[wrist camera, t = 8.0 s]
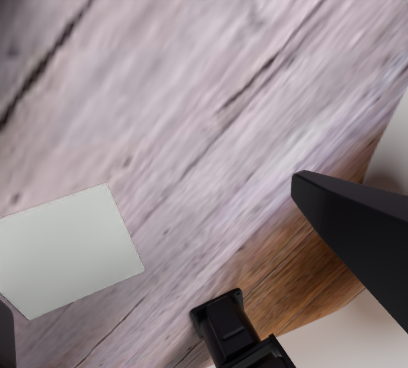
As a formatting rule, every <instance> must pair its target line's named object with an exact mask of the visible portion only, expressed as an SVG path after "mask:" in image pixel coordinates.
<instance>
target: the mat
mask: <svg viewBox="0 0 408 368" xmlns="http://www.w3.org/2000/svg"><path fill="white" fill-rule="evenodd" d="M144 271H145V269H144V267H143V264H142V262H141V260H140V257H139V255H138V253H137V251H136V248H135V246H134V244H133V242H132V239H131V237H130V235H129V232H128V230H127V228H126V226H125V223H124V221H123V219H122V217H121V214H120V212H119V210H118V207H117V205H116V203H115V201H114V198H113V196H112V194H111V192H110V189H109V187H108V185H107V182H106V183H103V184H100V185H97V186H94V187H91V188H88V189H85V190H82V191H79V192H76V193H74V194H71V195H68V196H65V197H62V198H59V199H56V200H53V201H50V202H47V203H44V204H41V205H38V206H35V207H32V208H29V209H26V210H23V211H21V212H18V213H15V214H12V215H9V216H6V217H3V218H0V293H1V294H2V295H3V296H5V297H6V298H7V299H8V300H9V301H10V302H11V303H12V304H13V305H14V306H15V307H16V308H17V309H18V310H19V311H20V312H21V313H22V314H23V315H24V316H25V317H26V318H27V319H28V320H32V319H34V318H36V317H39V316H41V315H43V314H46V313H48V312H50V311H53V310H55V309H57V308H60V307H62V306H64V305H67V304H69V303H71V302H74V301H76V300H78V299H81V298H83V297H85V296H88V295H90V294H93V293H95V292H97V291H100V290H102V289H104V288H107V287H109V286H111V285H114V284H116V283H118V282H121V281H123V280H125V279H128V278H130V277H132V276H135V275H137V274H139V273H142V272H144Z"/></svg>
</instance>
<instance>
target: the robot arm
mask: <svg viewBox="0 0 408 368" xmlns="http://www.w3.org/2000/svg"><path fill="white" fill-rule="evenodd" d="M291 197H292V199H293V201H294V202H295V203H296V205H297V206H298V208H299V209H300V210H301V212H302V213H303V214H304V216H305V217H306V219H307V220H308V221H309V223H310V224H311V225H312V227H313V228H314V230H315V231H316V232H317V233H318V235H319V236H320V237H321V238H322V239H323V241H324V242H325V243H326V244H327V245H328V246H329V247H330V248H331V249H332V251H333V252H334V253H335V254H336V255H337V256H338V257H339V258H340V259H341V261H342V262H343V263H344V264H345V265H346V266H347V267H348V268H349V269H350V270H351V272H352V273H353V274H354V275H355V276H356V277H357V278H358V279H359V280H360V282H361V283H362V284H363V285H364V286H365V287H366V288H367V289H368V290H369V291H370V293H371V294H372V295H373V296H374V297H375V298H376V299H377V300H378V301H379V303H380V304H381V305H382V306H383V307H384V308H385V309H386V310H387V311H388V313H389V314H390V315H391V316H392V317H393V318H394V319H395V320H396V321H397V323H398V324H399V325H400V326H401V327H402V328H403V329H404V330H405V331H406V332H407V334H408V196H406V195H402V194H398V193H394V192H390V191H386V190H382V189H378V188H374V187H370V186H366V185H363V184H359V183H355V182H351V181H347V180H343V179H339V178H335V177H331V176H327V175H323V174H319V173H315V172H311V171H307V170H302V171H299V172H297V173H294V174H293V176H292V181H291ZM191 315H192V318H193V321H194V324H195V327H196V330H197V333H198V336H199V338H200V339H202V338H204V340H205V342H206V345H207V347H208V349H209V352H210V354H211V357H212V359H213V362H214V364H215V366H216V368H296V367H295V365H294V364H293V362H292V361H291V359H290V358H289V356H288V355H287V353H286V352H285V350H284V349H283V348H282V346H281V345H280V343H279V342H278V340H277V339H276V337H275V336H274V334H273V333H272V334H271V335H269V337H268V338H266V339H264V340H263V341H261V339H260V338H259V336H258V334H257V332H256V331H255V329H254V327H253V325H252V324H251V322H250V320H249V318H248V317H247V315H246V313H245V312H244V306H243V297H242V291H241V289H240V288H237V289H235V290H233V291H231V292H229V293H226V294H224V295H222V296H220V297H218V298H216V299H214V300H212V301H210V302H208V303H206V304H203V305H201V306H199V307H197V308H195V309H193V310H192V311H191ZM0 368H16V351H15V335H14V319H13V314H12V311H11V310H10V308H9V307H8V306H7V305H6V304H5V303H3V302H2V301H1V300H0Z"/></svg>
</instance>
